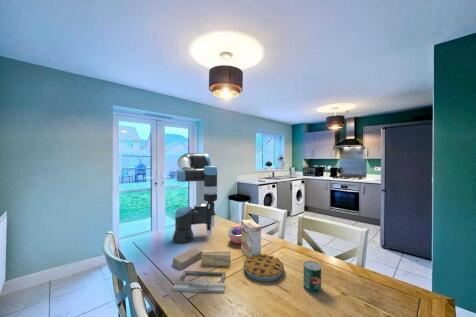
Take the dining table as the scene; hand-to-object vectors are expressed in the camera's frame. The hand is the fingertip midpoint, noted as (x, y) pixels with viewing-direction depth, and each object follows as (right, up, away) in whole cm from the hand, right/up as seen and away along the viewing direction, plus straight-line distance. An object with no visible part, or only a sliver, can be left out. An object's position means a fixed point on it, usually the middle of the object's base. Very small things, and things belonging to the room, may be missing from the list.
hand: (210, 230), depth 114 cm
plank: (+3, -20, +3) cm, 20 cm away
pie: (+29, -20, -5) cm, 36 cm away
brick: (-14, -20, +5) cm, 25 cm away
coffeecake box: (+24, -20, +15) cm, 34 cm away
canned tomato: (+50, -20, -19) cm, 58 cm away
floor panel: (-2, -20, -14) cm, 24 cm away
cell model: (+17, -20, +32) cm, 41 cm away
